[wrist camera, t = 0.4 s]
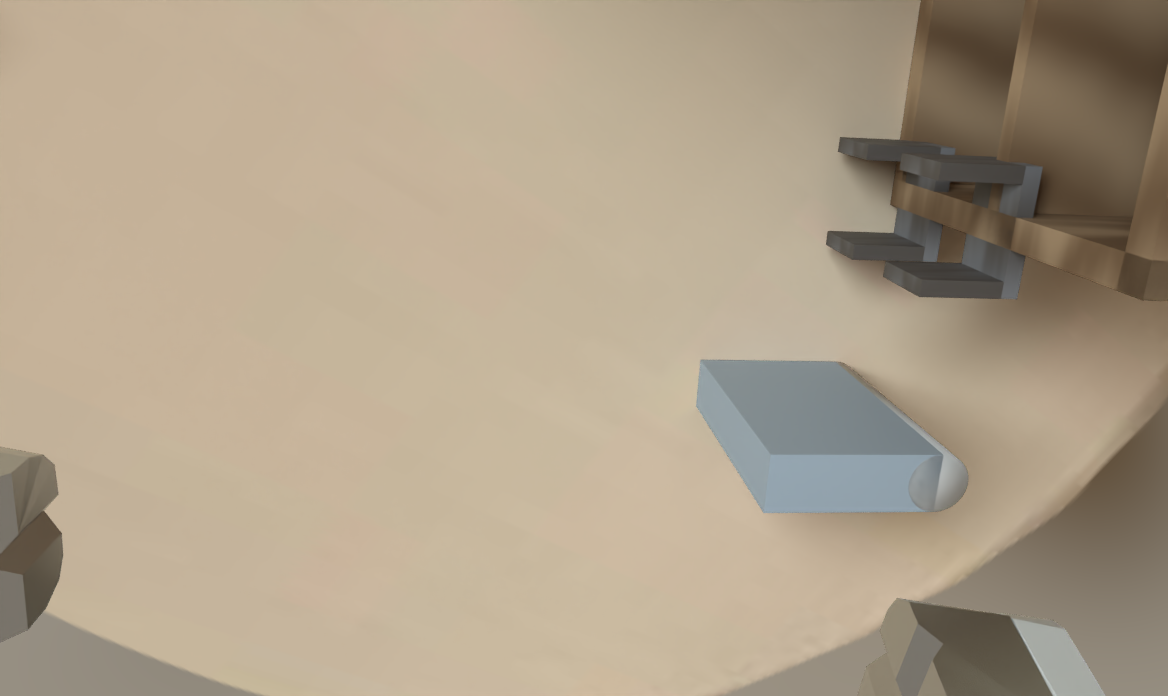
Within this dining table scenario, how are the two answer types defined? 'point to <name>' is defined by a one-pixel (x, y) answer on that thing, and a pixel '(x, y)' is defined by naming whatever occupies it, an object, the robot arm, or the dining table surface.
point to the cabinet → (1029, 148)
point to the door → (823, 440)
